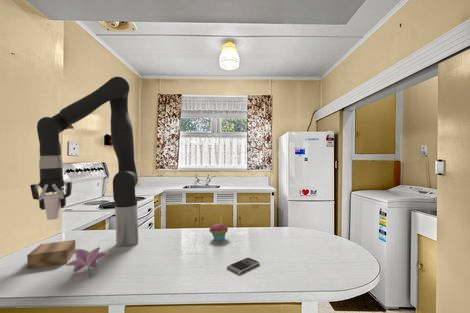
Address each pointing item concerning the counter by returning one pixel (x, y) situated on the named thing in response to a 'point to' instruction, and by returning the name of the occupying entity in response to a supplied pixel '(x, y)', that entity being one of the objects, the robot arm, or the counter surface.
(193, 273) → the counter surface
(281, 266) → the counter surface
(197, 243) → the counter surface
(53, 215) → the smoothie
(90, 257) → the lily
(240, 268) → the cell phone
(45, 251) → the walnut block
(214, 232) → the cupcake
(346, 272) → the counter surface
